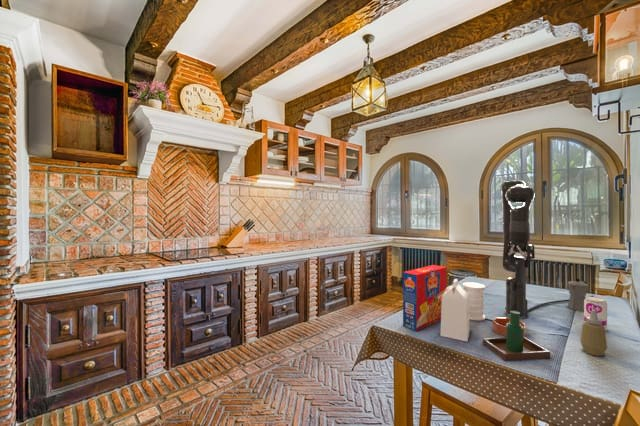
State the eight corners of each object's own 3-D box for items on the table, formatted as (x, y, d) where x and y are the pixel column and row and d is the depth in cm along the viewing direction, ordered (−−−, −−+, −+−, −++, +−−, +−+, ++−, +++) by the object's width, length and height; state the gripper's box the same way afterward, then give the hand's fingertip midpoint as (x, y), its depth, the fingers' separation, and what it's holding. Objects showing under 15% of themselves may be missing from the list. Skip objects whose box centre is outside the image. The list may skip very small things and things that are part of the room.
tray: (523, 341, 129) (523, 336, 129) (550, 358, 115) (550, 351, 115) (482, 344, 127) (482, 338, 127) (504, 360, 114) (504, 354, 114)
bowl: (511, 326, 145) (511, 316, 145) (532, 338, 132) (532, 327, 132) (486, 327, 144) (486, 317, 144) (505, 339, 131) (506, 329, 131)
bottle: (515, 345, 125) (516, 309, 124) (526, 352, 119) (527, 314, 118) (502, 346, 124) (503, 309, 124) (513, 353, 118) (513, 315, 118)
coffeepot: (580, 313, 162) (581, 281, 162) (561, 307, 171) (562, 277, 171) (595, 309, 168) (596, 278, 168) (576, 303, 177) (576, 275, 177)
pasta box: (416, 331, 141) (416, 275, 140) (403, 325, 147) (403, 272, 147) (446, 317, 158) (446, 267, 157) (433, 312, 164) (433, 264, 164)
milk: (467, 341, 130) (467, 285, 129) (440, 335, 136) (440, 281, 135) (469, 331, 140) (470, 279, 139) (444, 326, 146) (444, 276, 145)
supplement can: (602, 333, 137) (603, 302, 136) (580, 327, 144) (581, 297, 144) (609, 330, 140) (610, 299, 140) (588, 323, 148) (588, 295, 147)
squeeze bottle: (574, 348, 123) (575, 307, 122) (592, 347, 124) (592, 306, 123) (594, 358, 115) (595, 314, 114) (612, 357, 115) (613, 313, 115)
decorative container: (488, 322, 151) (489, 288, 150) (465, 320, 153) (465, 287, 153) (480, 314, 162) (481, 282, 162) (459, 312, 165) (459, 281, 164)
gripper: (540, 231, 124) (539, 268, 125) (515, 229, 138) (514, 262, 139) (524, 232, 123) (523, 269, 124) (500, 229, 138) (500, 262, 138)
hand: (519, 265), depth 131 cm, fingers open, 8 cm apart
